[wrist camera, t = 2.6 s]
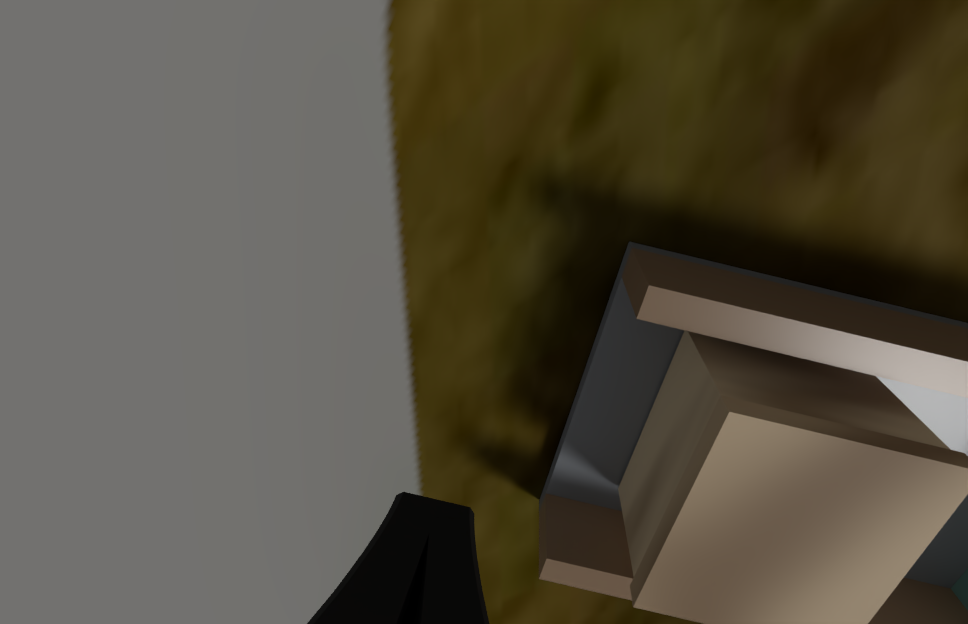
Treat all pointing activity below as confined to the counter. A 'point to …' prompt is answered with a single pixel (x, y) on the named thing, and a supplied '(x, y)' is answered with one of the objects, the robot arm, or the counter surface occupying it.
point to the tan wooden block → (779, 490)
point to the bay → (758, 323)
